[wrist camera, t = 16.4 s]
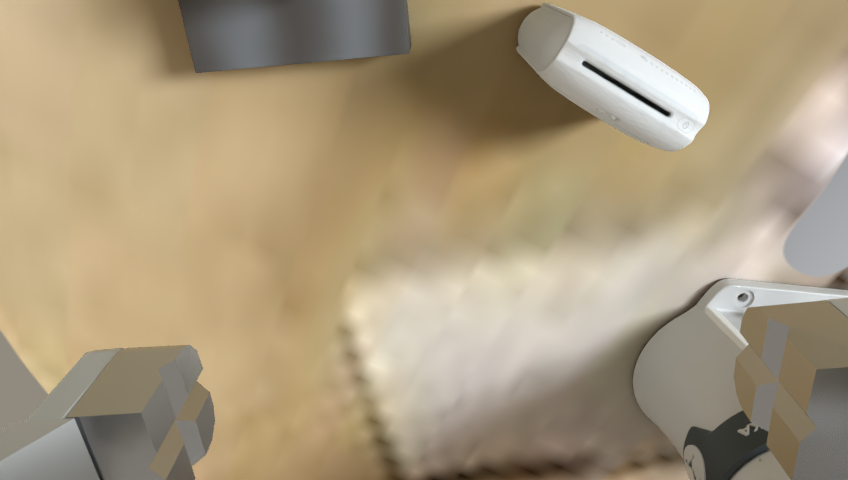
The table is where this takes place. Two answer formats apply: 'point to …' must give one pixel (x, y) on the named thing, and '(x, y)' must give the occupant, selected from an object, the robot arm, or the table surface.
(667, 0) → the table surface
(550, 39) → the photo printer
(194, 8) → the riser block
